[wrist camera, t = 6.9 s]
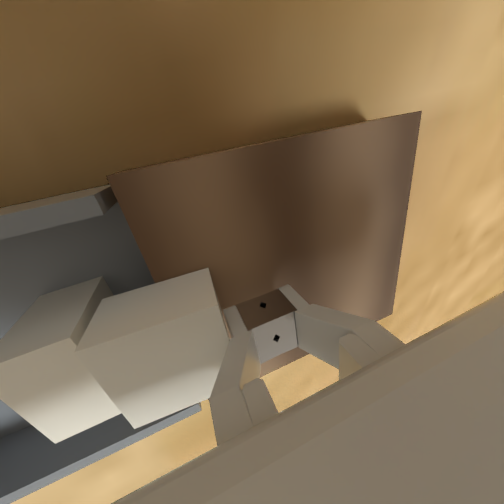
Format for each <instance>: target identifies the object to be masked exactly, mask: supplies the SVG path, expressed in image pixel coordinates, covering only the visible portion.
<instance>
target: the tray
mask: <svg viewBox="0 0 504 504" xmlns="http://www.w3.org/2000/svg"><path fill="white" fill-rule="evenodd" d="M100 276H102V277H103V278H104V280H105V281H106V283H107V285H108V286H109V288H110V290H111V291H112V293H113V295H118V294H121V293H124V292H128V291H131V290H134V289H138V288H141V287H144V286H148V285H151V284H155V282H154V280H153V277H152V275H151V273H150V271H149V269H148V267H147V264H146V262H145V260H144V258H143V256H142V253H141V251H140V249H139V247H138V245H137V242H136V240H135V238H134V236H133V234H132V232H131V229H130V227H129V225H128V223H127V221H126V218H125V216H124V214H123V212H122V210H121V208H120V205H119V203H118V201H117V199H116V197H115V194H114V192H113V190H112V188H111V186H110V184H109V185H104V186H100V187H95V188H90V189H86V190H81V191H76V192H72V193H67V194H62V195H58V196H53V197H49V198H44V199H39V200H35V201H30V202H25V203H21V204H16V205H12V206H7V207H2V208H0V340H1V339H2V337H3V336H4V335H5V334H6V333H7V332H8V331H9V330H10V329H11V327H12V326H13V325H14V324H15V323H16V322H17V321H18V320H19V319H20V317H21V316H22V315H23V314H24V313H25V312H26V311H27V310H28V309H29V307H30V306H31V305H32V304H33V303H34V302H35V301H36V300H37V299H38V297H39V296H41V295H44V294H47V293H50V292H53V291H57V290H60V289H63V288H66V287H69V286H72V285H75V284H79V283H82V282H85V281H88V280H91V279H94V278H97V277H100ZM199 411H201V403H200V402H199V403H197V404H194V405H192V406H189V407H187V408H184V409H182V410H180V411H177V412H175V413H172V414H170V415H167V416H165V417H163V418H160V419H158V420H155V421H153V422H150V423H148V424H146V425H143V426H141V427H138V428H136V429H134V428H133V427H132V425H131V424H130V423H129V422H128V420H127V419H126V418H125V416H124V415H123V414H122V413H121V414H119V415H117V416H115V417H112V418H110V419H108V420H106V421H104V422H102V423H99V424H97V425H95V426H93V427H91V428H89V429H86V430H84V431H82V432H80V433H78V434H76V435H73V436H71V437H69V438H67V439H65V440H63V441H60V442H58V443H56V444H55V443H53V442H52V441H51V440H50V439H48V438H47V437H46V436H45V435H44V434H42V433H41V432H40V431H39V430H37V429H36V428H35V427H34V426H32V425H31V424H30V423H29V422H27V421H26V420H25V419H24V418H23V417H21V416H20V415H19V414H18V413H16V412H15V411H14V410H13V409H11V408H10V407H9V406H8V405H6V404H5V403H4V402H3V401H2V400H0V504H10V503H12V502H14V501H16V500H18V499H20V498H22V497H24V496H26V495H28V494H30V493H33V492H35V491H37V490H39V489H41V488H43V487H45V486H47V485H49V484H51V483H53V482H55V481H57V480H59V479H61V478H63V477H65V476H67V475H70V474H72V473H74V472H76V471H78V470H80V469H82V468H84V467H86V466H88V465H90V464H92V463H94V462H96V461H98V460H100V459H102V458H104V457H107V456H109V455H111V454H113V453H115V452H117V451H119V450H121V449H123V448H125V447H127V446H129V445H131V444H133V443H135V442H137V441H139V440H141V439H144V438H146V437H148V436H150V435H152V434H154V433H156V432H158V431H160V430H162V429H164V428H166V427H168V426H170V425H172V424H174V423H176V422H178V421H181V420H183V419H185V418H187V417H189V416H191V415H193V414H195V413H197V412H199Z"/></svg>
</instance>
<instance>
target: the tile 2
mask: <svg viewBox="0 0 504 504" xmlns="http://www.w3.org/2000/svg"><path fill="white" fill-rule="evenodd" d="M229 341H230V337H229V334H228V331H227V327H226V324H225V321H224V317H223V314H222V311H221V308H220V304H219V301H218V298H217V294H216V291H215V288H214V285H213V281H212V278H211V275H210V271H209V268H205V269H202V270H198V271H195V272H192V273H188V274H185V275H182V276H178V277H175V278H171V279H168V280H165V281H161V282H158V283H155V284H151V285H148V286H144V287H141V288H138V289H134V290H131V291H128V292H124V293H121V294H118V295H114V296H111V297H107V298H104V299H102V300H101V302H100V304H99V306H98V308H97V310H96V312H95V314H94V316H93V317H92V319H91V321H90V323H89V325H88V327H87V329H86V331H85V333H84V334H83V336H82V338H81V340H80V342H79V344H78V346H77V348H76V350H75V352H74V353H75V354H76V356H77V357H78V358H79V360H80V361H81V362H82V363H83V365H84V366H85V367H86V368H87V370H88V371H89V372H90V373H91V375H92V376H93V377H94V378H95V380H96V381H97V382H98V384H99V385H100V386H101V387H102V389H103V390H104V391H105V392H106V394H107V395H108V396H109V397H110V399H111V400H112V401H113V403H114V404H115V405H116V406H117V408H118V409H119V410H120V411H121V413H122V414H123V415H124V416H125V418H126V419H127V420H128V422H129V423H130V424H131V425H132V427H133V428H134V429H136V428H138V427H141V426H143V425H146V424H148V423H150V422H153V421H155V420H158V419H160V418H163V417H165V416H167V415H170V414H172V413H175V412H177V411H180V410H182V409H184V408H187V407H189V406H192V405H194V404H197V403H199V402H201V401H204V400H206V399H209V398H210V396H211V393H212V390H213V387H214V384H215V381H216V378H217V375H218V372H219V370H220V367H221V364H222V361H223V358H224V355H225V352H226V349H227V346H228V343H229Z"/></svg>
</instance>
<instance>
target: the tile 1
mask: <svg viewBox="0 0 504 504" xmlns="http://www.w3.org/2000/svg"><path fill="white" fill-rule="evenodd" d="M111 296H114V295H113V293H112V291H111V290H110V288H109V286H108V285H107V283H106V281H105V280H104V278H103V277H102V276H100V277H97V278H94V279H91V280H88V281H85V282H82V283H79V284H75V285H72V286H69V287H66V288H63V289H60V290H57V291H53V292H50V293H47V294H44V295H41V296H39V297H38V299H37V300H36V301H35V302H34V303H33V304H32V305H31V306H30V307H29V309H28V310H27V311H26V312H25V313H24V314H23V315H22V316H21V317H20V319H19V320H18V321H17V322H16V323H15V324H14V325H13V326H12V327H11V329H10V330H9V331H8V332H7V333H6V334H5V335H4V336H3V337H2V339H1V340H0V400H2V401H3V402H4V403H5V404H6V405H8V406H9V407H10V408H11V409H13V410H14V411H15V412H16V413H18V414H19V415H20V416H21V417H23V418H24V419H25V420H26V421H27V422H29V423H30V424H31V425H32V426H34V427H35V428H36V429H37V430H39V431H40V432H41V433H42V434H44V435H45V436H46V437H47V438H48V439H50V440H51V441H52V442H53V443H55V444H56V443H58V442H60V441H63V440H65V439H67V438H69V437H71V436H73V435H76V434H78V433H80V432H82V431H84V430H86V429H89V428H91V427H93V426H95V425H97V424H99V423H102V422H104V421H106V420H108V419H110V418H112V417H115V416H117V415H119V414H121V411H120V410H119V409H118V408H117V406H116V405H115V404H114V403H113V401H112V400H111V399H110V397H109V396H108V395H107V394H106V392H105V391H104V390H103V389H102V387H101V386H100V385H99V384H98V382H97V381H96V380H95V378H94V377H93V376H92V375H91V373H90V372H89V371H88V370H87V368H86V367H85V366H84V365H83V363H82V362H81V361H80V360H79V358H78V357H77V356H76V354H75V353H74V352H75V350H76V348H77V346H78V344H79V342H80V340H81V338H82V336H83V334H84V333H85V331H86V329H87V327H88V325H89V323H90V321H91V319H92V317H93V316H94V314H95V312H96V310H97V308H98V306H99V304H100V302H101V300H102V299H104V298H107V297H111Z"/></svg>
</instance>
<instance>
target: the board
mask: <svg viewBox="0 0 504 504" xmlns="http://www.w3.org/2000/svg"><path fill="white" fill-rule="evenodd" d="M421 113H422V111H418V112H413V113H407V114H402V115H396V116H391V117H385V118H380V119H374V120H369V121H364V122H359V123H354V124H349V125H344V126H339V127H334V128H330V129H325V130H320V131H315V132H310V133H305V134H300V135H295V136H291V137H286V138H281V139H276V140H271V141H266V142H261V143H256V144H252V145H247V146H242V147H237V148H232V149H227V150H222V151H217V152H213V153H208V154H203V155H198V156H193V157H188V158H183V159H178V160H174V161H169V162H164V163H159V164H154V165H149V166H144V167H139V168H135V169H130V170H125V171H121V172H118V173H115V174H111V175H108V176H106V177H107V179H108V181H109V183H110V186H111V188H112V190H113V192H114V194H115V197H116V199H117V201H118V203H119V205H120V208H121V210H122V212H123V214H124V216H125V218H126V221H127V223H128V225H129V227H130V229H131V232H132V234H133V236H134V238H135V240H136V242H137V245H138V247H139V249H140V251H141V253H142V256H143V258H144V260H145V262H146V264H147V267H148V269H149V271H150V273H151V275H152V277H153V280H154V282H155V283H158V282H161V281H165V280H168V279H171V278H175V277H178V276H182V275H185V274H188V273H192V272H195V271H198V270H202V269H205V268H209V271H210V275H211V278H212V281H213V285H214V288H215V291H216V294H217V298H218V301H219V304H220V308H221V311H222V314H223V317H224V321H225V324H226V327H227V331H228V334H229V337H230V339H231V335H230V332H229V328H228V325H227V322H226V319H225V315H224V312H223V309H225V308H228V307H231V306H233V305H236V304H239V303H241V302H244V301H247V300H250V299H252V298H255V297H258V296H261V295H263V294H266V293H268V292H271V291H273V290H276V289H277V288H280V287H282V286H285V285H287V284H288V285H290V286H291V287H292V288H293V289H294V290H295V291H296V292H297V293H298V294H299V295H300V296H301V297H302V298H303V299H304V300H305V301H306V302H307V303H308V304H309V305H311V304H316V305H320V306H323V307H327V308H331V309H334V310H338V311H342V312H345V313H349V314H353V315H356V316H360V317H364V318H367V319H371V320H374V321H378V320H380V319H382V318H385V317H387V316H389V315H391V314H392V312H393V305H394V298H395V292H396V285H397V278H398V271H399V264H400V257H401V250H402V243H403V236H404V230H405V223H406V216H407V209H408V202H409V195H410V188H411V181H412V175H413V168H414V161H415V154H416V147H417V140H418V133H419V126H420V119H421ZM308 354H310V353H308V352H306V351H304V350H302V349H301V348H299V346H298V347H296V348H294V349H292V350H289V351H287V352H285V353H282V354H280V355H278V356H276V357H274V358H272V359H270V360H268V361H266V362H264V363H262V364H261V370H260V377H262V376H264V375H266V374H268V373H270V372H272V371H274V370H277V369H279V368H281V367H283V366H285V365H287V364H289V363H291V362H293V361H295V360H297V359H299V358H301V357H304V356H306V355H308ZM209 399H210V398H209ZM209 399H208V400H209Z"/></svg>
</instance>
